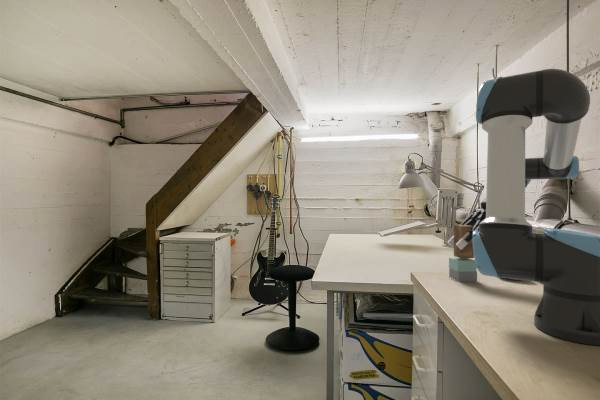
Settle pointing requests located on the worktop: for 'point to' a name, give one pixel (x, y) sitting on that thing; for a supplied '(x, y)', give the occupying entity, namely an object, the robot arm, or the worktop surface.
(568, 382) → the worktop surface
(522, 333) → the worktop surface
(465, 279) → the tower base
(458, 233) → the walnut post
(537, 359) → the worktop surface
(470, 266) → the tower mid
